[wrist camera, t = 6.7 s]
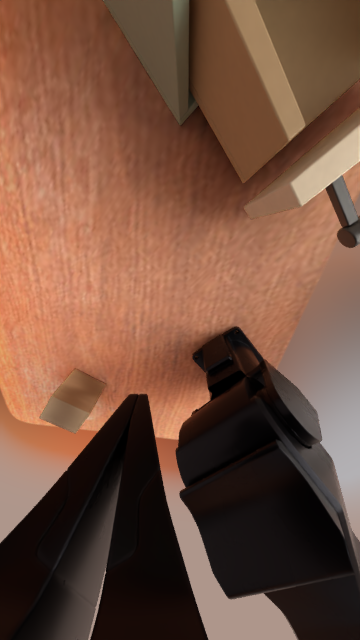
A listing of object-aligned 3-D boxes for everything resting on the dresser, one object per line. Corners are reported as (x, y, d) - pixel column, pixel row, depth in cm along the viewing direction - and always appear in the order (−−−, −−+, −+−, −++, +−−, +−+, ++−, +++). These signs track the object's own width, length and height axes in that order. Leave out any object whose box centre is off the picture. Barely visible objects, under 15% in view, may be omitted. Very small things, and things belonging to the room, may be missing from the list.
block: (106, 384, 24) (90, 413, 20) (92, 402, 26) (75, 433, 22) (75, 368, 23) (51, 395, 19) (63, 388, 25) (38, 418, 21)
